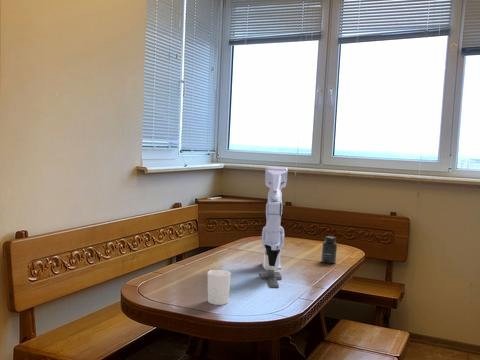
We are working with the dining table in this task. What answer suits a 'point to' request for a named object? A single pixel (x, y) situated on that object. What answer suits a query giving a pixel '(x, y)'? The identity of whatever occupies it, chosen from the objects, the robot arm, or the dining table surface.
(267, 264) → the brushed metal cube
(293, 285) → the dining table surface
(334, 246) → the supplement bottle
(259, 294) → the dining table surface
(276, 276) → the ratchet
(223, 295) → the white cup
